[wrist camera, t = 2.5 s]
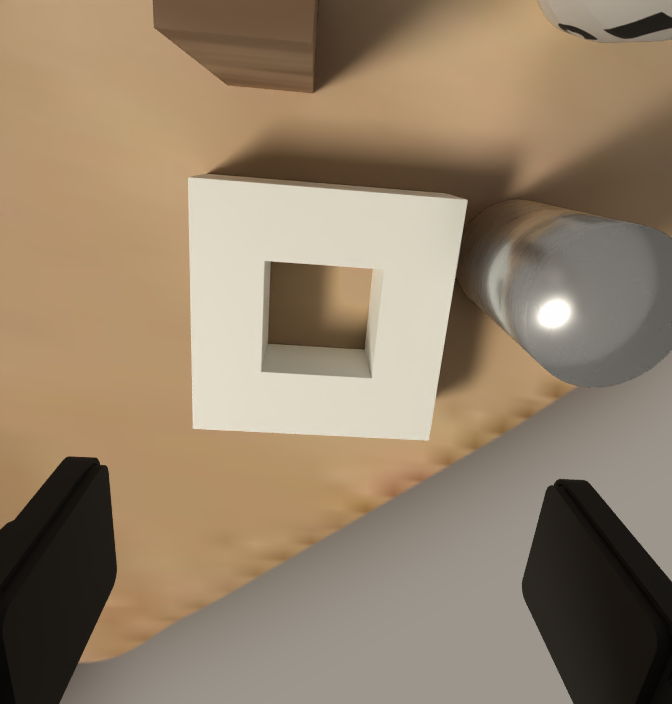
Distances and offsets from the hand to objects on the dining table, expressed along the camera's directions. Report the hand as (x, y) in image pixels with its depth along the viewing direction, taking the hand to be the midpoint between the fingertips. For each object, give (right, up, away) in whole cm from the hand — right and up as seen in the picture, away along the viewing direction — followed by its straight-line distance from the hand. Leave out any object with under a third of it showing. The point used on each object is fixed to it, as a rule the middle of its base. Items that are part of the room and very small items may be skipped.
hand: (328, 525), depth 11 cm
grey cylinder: (+9, +9, +17) cm, 21 cm away
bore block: (-1, +6, +17) cm, 18 cm away
